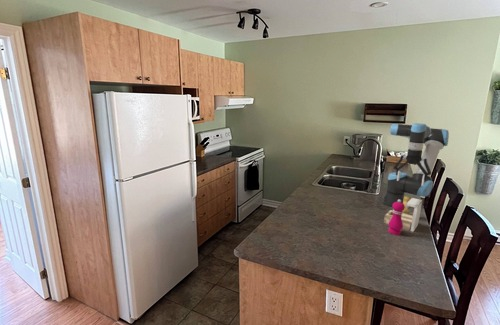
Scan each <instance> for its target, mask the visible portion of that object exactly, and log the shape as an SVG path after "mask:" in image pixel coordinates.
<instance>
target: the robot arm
mask: <svg viewBox="0 0 500 325" xmlns="http://www.w3.org/2000/svg"><path fill="white" fill-rule="evenodd" d="M389 129H390V130H389V133H390V135H392V136H396V137H397V136H398V137H403V138H407V140H409V141H408V149H407V152H406V155H403V154H402V155H401V156H400V158H399V160H398V161H397V163H395V165H394V166H393V169H394V170H396V171H395V172H390V173H388V177H387V183H386V191H385V193H384V195H383V197H382V201H381V202H382V203H383V205H386V206H389V207H392V206H393V203H394V202H398V200H399V199H400V200H401V202H402V203H403V199H404V196H405V193H406V194H411V195H413V196H417V197H423V198H425V197H428V196H429V195H430V193H431V192H432V189H433V186H434V181H432V180H433V179H432V177H431V175H432V172H433V169H434V167H435V164H436V162H437V158H438V156H439V153H440V150H443V149H444V147H447V146H448V144H449V138H450V134H449V130H448V129H445V128H444V129H443V128H433V127H432V128H431V127H429V126H428V125H427V124H425V123H420V122H419V123H417V122H416V123H412V124H401V123H393V124H391V126H390V128H389ZM424 147H425V149H424ZM423 149H424V151H423ZM403 160H406V161H405V162H404V163H403V164H401V162H402V161H403ZM407 164H409V165H414V166H415V165H417V169H416V172H415V173H414V172H413V174H412V175H411V176H409V175H408V173H406V172H401V169H402V168H403V167H404V166H406V165H407ZM399 165H400V166H399Z"/></svg>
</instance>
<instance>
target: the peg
mask: <svg viewBox="0 0 500 325" xmlns="http://www.w3.org/2000/svg"><path fill="white" fill-rule="evenodd" d="M411 198H412V197H411V196H409V195H404V199H403V204H404V206H405V209H404V210H403V213H405V214H409V212H410V206H409V208H408V209H406V206H407V203H408V201H409V200H410V199H411ZM409 215H410V214H409Z"/></svg>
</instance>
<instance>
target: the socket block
mask: <svg viewBox="0 0 500 325" xmlns="http://www.w3.org/2000/svg"><path fill="white" fill-rule="evenodd" d="M392 216H393V209H390V210H389V211H388V212H386V214H384V218H383V224H386V225H388V224H389V221H390V220H391V218H392ZM412 219H413V214H405V213H403V214H402V215H401V220H402V223H403V228H402V229H401V230H407V231H410V230H411V224H412Z"/></svg>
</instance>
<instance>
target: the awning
mask: <svg viewBox="0 0 500 325" xmlns="http://www.w3.org/2000/svg"><path fill="white" fill-rule="evenodd" d="M409 206H410V207H411V208H414V209H413V212H412V216H413V219H412V224H411V229H410V230H409V231H410V232H413V233H414V232H415V230H416V228H417V227H418V226H419V222H420V216H421V209H422V206H423V199H419V198H414V197H411V199H410V200H409V201H408V203H407V206H406V209H408V208H409ZM409 209H410V208H409Z"/></svg>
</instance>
